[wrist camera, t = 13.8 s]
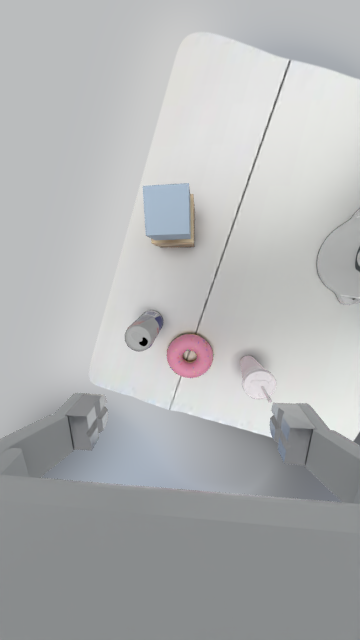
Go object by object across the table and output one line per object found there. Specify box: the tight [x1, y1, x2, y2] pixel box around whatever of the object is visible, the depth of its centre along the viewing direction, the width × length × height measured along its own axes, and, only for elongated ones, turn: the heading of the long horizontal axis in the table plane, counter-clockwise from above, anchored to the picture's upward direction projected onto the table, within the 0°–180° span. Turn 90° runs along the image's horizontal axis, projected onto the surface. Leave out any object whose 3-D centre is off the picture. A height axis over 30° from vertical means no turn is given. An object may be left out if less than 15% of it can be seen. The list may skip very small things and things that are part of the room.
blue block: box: [143, 183, 191, 240], centre depth 30 cm, size 6×6×6 cm
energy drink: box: [125, 310, 163, 351], centre depth 42 cm, size 5×5×12 cm
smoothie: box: [240, 356, 276, 402], centre depth 42 cm, size 6×6×14 cm
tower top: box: [151, 194, 194, 246], centre depth 35 cm, size 7×7×5 cm
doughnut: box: [167, 334, 213, 378], centre depth 48 cm, size 11×11×4 cm
